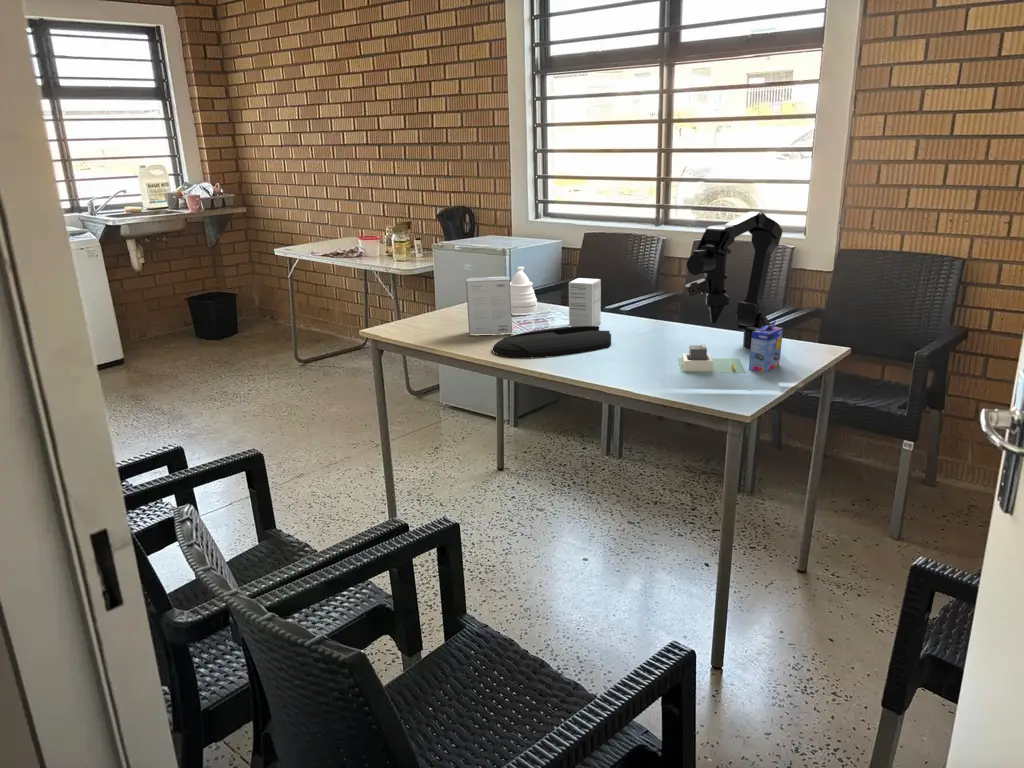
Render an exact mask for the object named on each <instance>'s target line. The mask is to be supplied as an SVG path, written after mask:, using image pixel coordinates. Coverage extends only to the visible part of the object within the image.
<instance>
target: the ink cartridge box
mask: <svg viewBox="0 0 1024 768" xmlns="http://www.w3.org/2000/svg"><path fill="white" fill-rule="evenodd" d="M776 322H777V320H775V321H772V322H770V325H771V326H770V325H769V326H764V327H762V328H760V329H757V330H755V331H753V332H752V338H751V349H749V350H750V352H749V362H748V370H749V371H750V370H751V371H755V372H761V373H767V372H769V371H771V370H773V369H775V368H777V367H778V366H780V362H781V361H780V359H781V353H782V343H783V335H784V334H783V333H784V328H783V327H780V326H779V327H778V326H775V324H776Z"/></svg>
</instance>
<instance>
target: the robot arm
mask: <svg viewBox="0 0 1024 768" xmlns="http://www.w3.org/2000/svg"><path fill="white" fill-rule="evenodd" d="M747 232H748V233H749V234H750V235H751V240H750V241H751V244H752V247H753V249H754V254H753V258H752V259H753V260H752V266H751V270H750V276H749V280H748V285H747V291H746V296H745V298H744V299H743V300H742V301H739V302H738V304H737V309H736V312H735V321H736V327H737V329H738V330H743V336H742V337H743V340H742V347H743V348H747V349H749V350H750V349H751V338H752V332H753V331H755V330H757V329H760V328H762V327H764V326H769V325H770V323H771V322H770V320H769V319H768V318H767V316H766V313H767V307H766V305H765V303H764V300H763V298H764V294H765V290H766V289H765V288H766V284H767V279H768V278H767V277H768V273H769V268H770V263H771V258H772V253H773V252H774V251H775V249H776V248H777V247H778V246H779V244H780V242H781V241H780V240H781V237H782V236H783V228H782V227H781V226H780V224H779V223H778V222H777V221H775V220H774V219H772V218H770V217H768V216H767V215H766V214H765V213H764V212H762V211H749V212H748V211H747V212H746V213H745V214H744V215H741V216H740V217H738V218H736V219H733V220H732V221H729V222H727V223H725V224H716V225H710V226H707V228H706V229H705V230H704V232H703V234H702V237H701V239H700V241H699V242H698V243H699V244H698V245H697V247H696V250H693V251H692V255H690V256H689V257H688V258H687V262H686V269H687V270H688V272H689V274H691V275H693V276H699V275H703V278H701V279H697V280H694V281H691V282H688V283H686V284H685V289H686V292H687V295H688V297H689V298H692V297H694V296H695V295H698V294H700V293H701V295H703V296H704V295H705V294H706V295H705V297H703V300H704V303H705V304H706V305H707V306H708V310H709V315H710V316H709V317H710V322H711V324H716V323H717V321H718V319H719V318H720V316H721V313H722V312H723V310H724V308H725V306H729V305H730V297H729V295H728V294H727V289H726V284H727V280H728V274H727V266H728V255H731V254H732V251H731V249H730V248H729V247H730V246H731V245H732V244H733V243H734V242H735V239H736V238H737V237H739V236H740V235H742V234H745V233H747ZM770 326H772V325H770Z"/></svg>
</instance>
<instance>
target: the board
mask: <svg viewBox="0 0 1024 768" xmlns="http://www.w3.org/2000/svg"><path fill="white" fill-rule="evenodd" d="M712 359H713V371H684V369H683V364H682V357H677V362H678V366H679V371H680V373H704V374H705V373H706V374H707V373H709V374H710V373H713V374H715V373H716V374H717V373H720V374H729V373H730V374H746V373H747V371H746V370H745V367H744V366H743V364H742V362H741V360H740V358H737V357H736V358H735V357H734V358H730V357H728V358H727V357H726V358H724V357H723V358H721V357H719V358H717V357H716V358H715V357H712Z"/></svg>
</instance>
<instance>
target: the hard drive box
mask: <svg viewBox="0 0 1024 768" xmlns="http://www.w3.org/2000/svg"><path fill="white" fill-rule="evenodd" d="M510 278H511V277H510V276H508V275H507V276H488V277H487V276H486V277H484V276H483V277H469V278H467V279H466V280H465V287H466V288H465V289H466V303H467V307H466V308H467V317H468V318H467V319H468V321H467V322H468V333H469V334H501V333H505V334H506V333H512V334H513V321H512V319H513V318H512V315H511V293H510V282H511V279H510ZM469 334H468V335H469Z"/></svg>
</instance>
